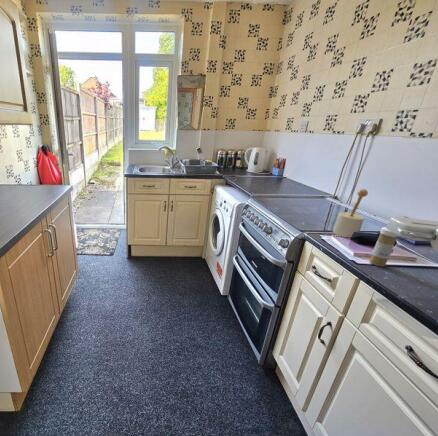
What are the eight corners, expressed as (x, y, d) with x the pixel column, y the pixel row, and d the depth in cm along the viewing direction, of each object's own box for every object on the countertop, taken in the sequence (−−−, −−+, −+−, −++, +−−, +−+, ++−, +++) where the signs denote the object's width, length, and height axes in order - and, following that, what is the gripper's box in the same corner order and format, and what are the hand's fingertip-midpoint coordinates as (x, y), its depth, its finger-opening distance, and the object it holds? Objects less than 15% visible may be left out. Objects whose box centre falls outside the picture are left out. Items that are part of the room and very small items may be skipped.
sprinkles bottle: (385, 263, 87) (400, 229, 82) (384, 268, 84) (400, 233, 79) (369, 258, 90) (382, 225, 85) (367, 263, 87) (381, 228, 82)
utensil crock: (353, 232, 113) (369, 186, 105) (361, 240, 105) (379, 191, 97) (330, 228, 116) (344, 184, 108) (336, 236, 108) (352, 188, 100)
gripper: (398, 245, 61) (373, 226, 74) (515, 261, 55) (466, 237, 67) (408, 222, 59) (381, 206, 71) (531, 236, 52) (478, 215, 65)
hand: (423, 221), depth 69 cm, fingers open, 8 cm apart
